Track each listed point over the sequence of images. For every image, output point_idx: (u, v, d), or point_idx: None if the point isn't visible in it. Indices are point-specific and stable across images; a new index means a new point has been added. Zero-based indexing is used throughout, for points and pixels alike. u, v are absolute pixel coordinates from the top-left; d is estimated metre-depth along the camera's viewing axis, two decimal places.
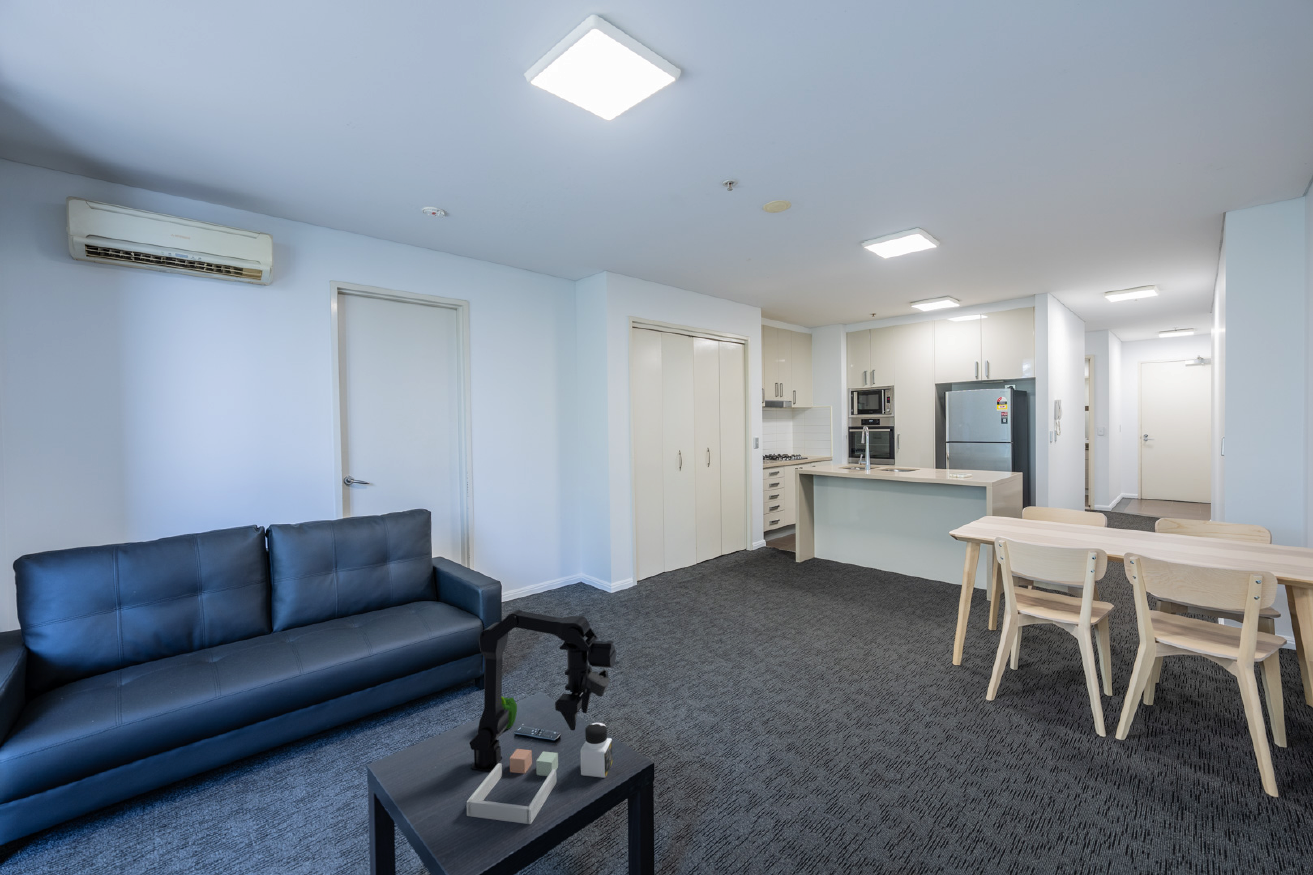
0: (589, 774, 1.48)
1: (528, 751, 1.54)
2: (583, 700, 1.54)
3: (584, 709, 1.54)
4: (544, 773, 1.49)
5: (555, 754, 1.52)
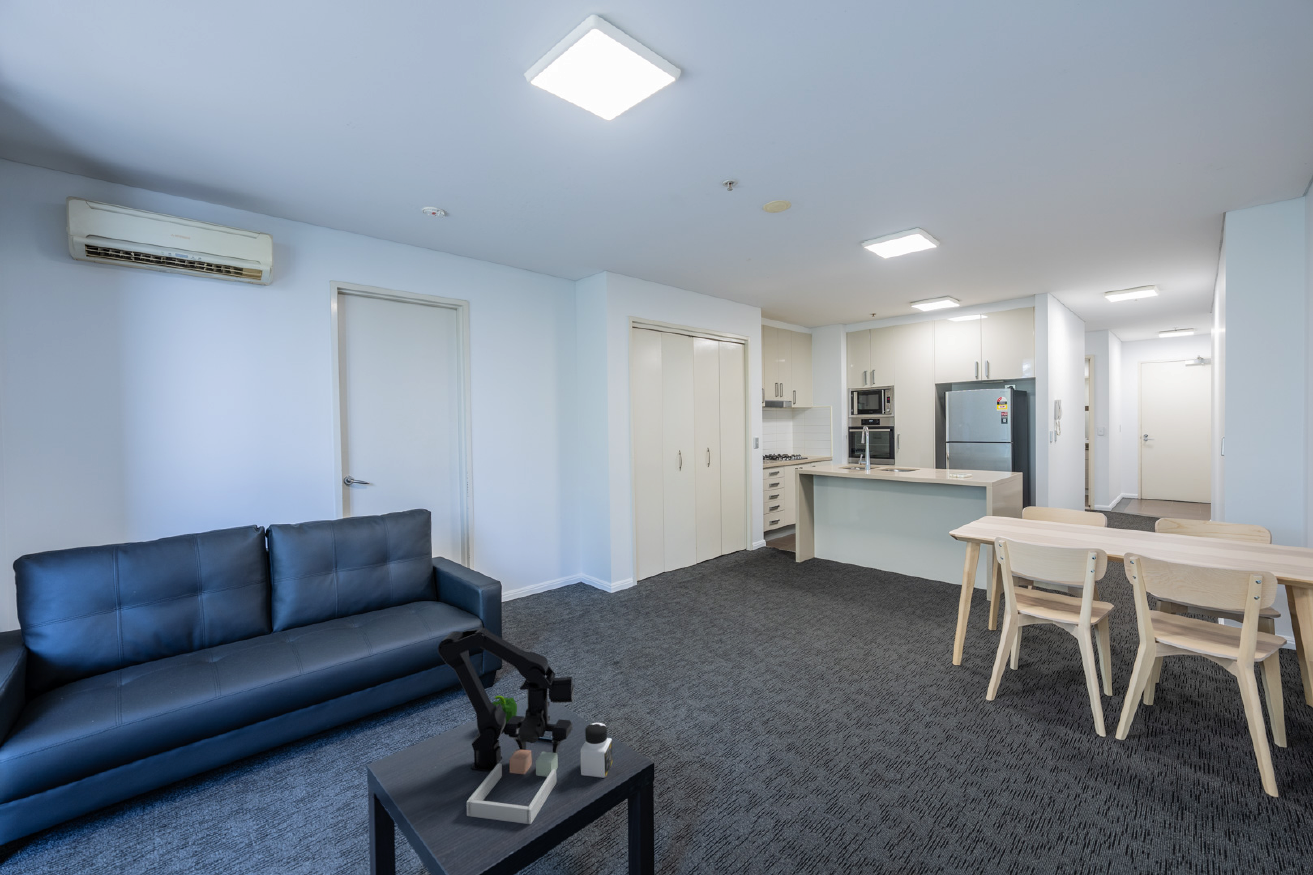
0: (589, 774, 1.48)
1: (528, 751, 1.54)
2: None
3: None
4: (544, 773, 1.49)
5: (555, 754, 1.52)
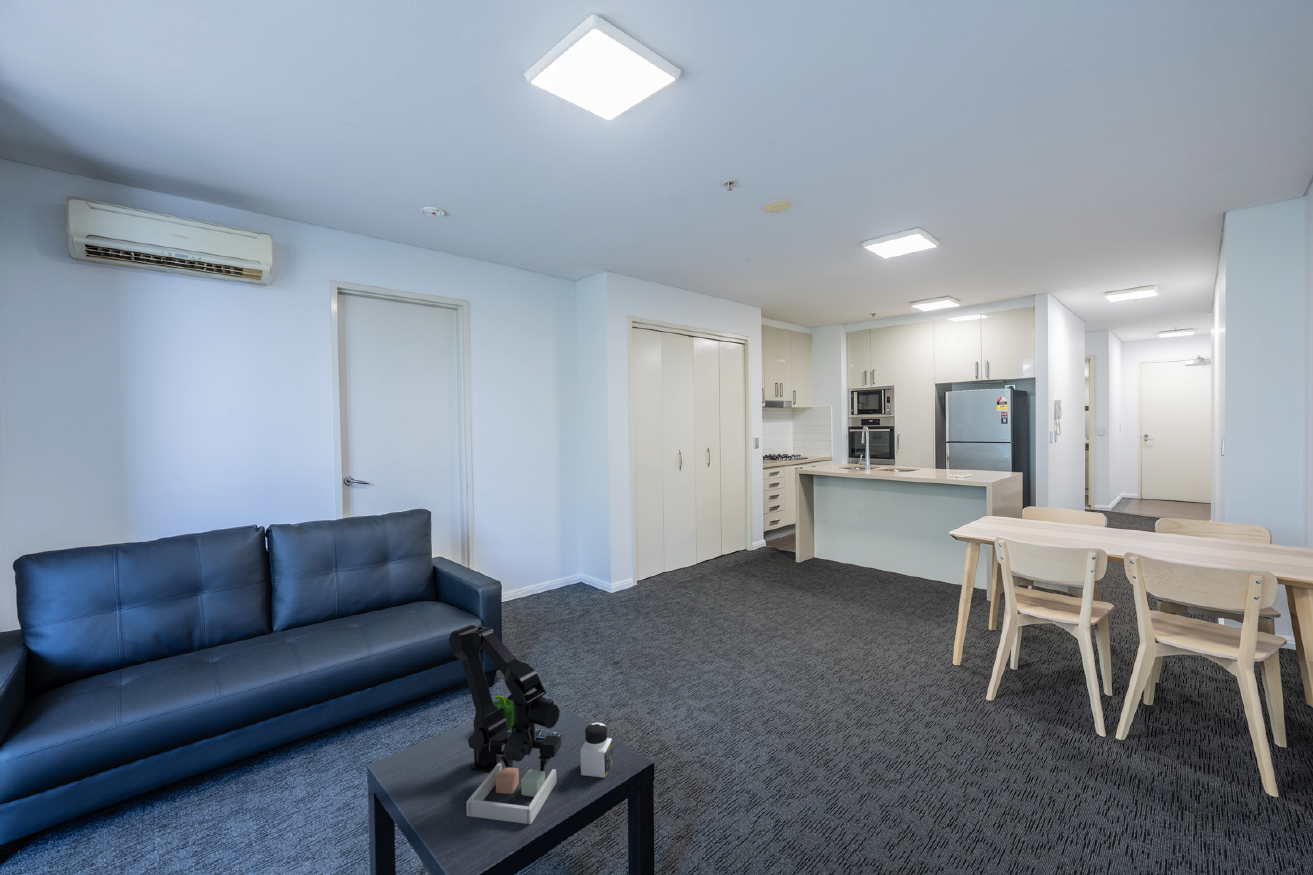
0: (589, 774, 1.48)
1: (515, 769, 1.45)
2: None
3: None
4: (529, 793, 1.40)
5: (542, 773, 1.44)
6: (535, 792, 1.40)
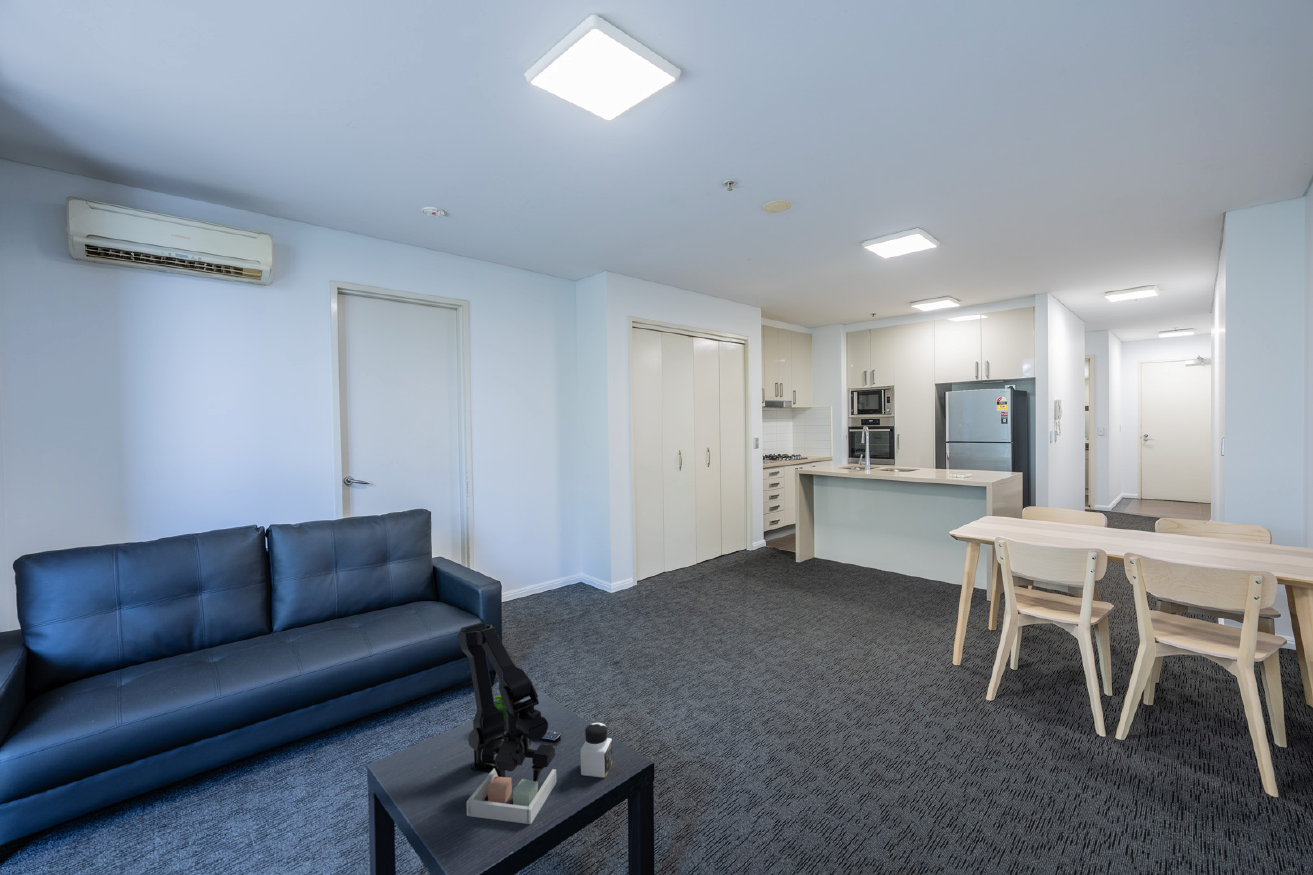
0: (589, 774, 1.48)
1: (508, 779, 1.41)
2: None
3: None
4: (521, 804, 1.36)
5: (534, 783, 1.39)
6: (527, 803, 1.36)
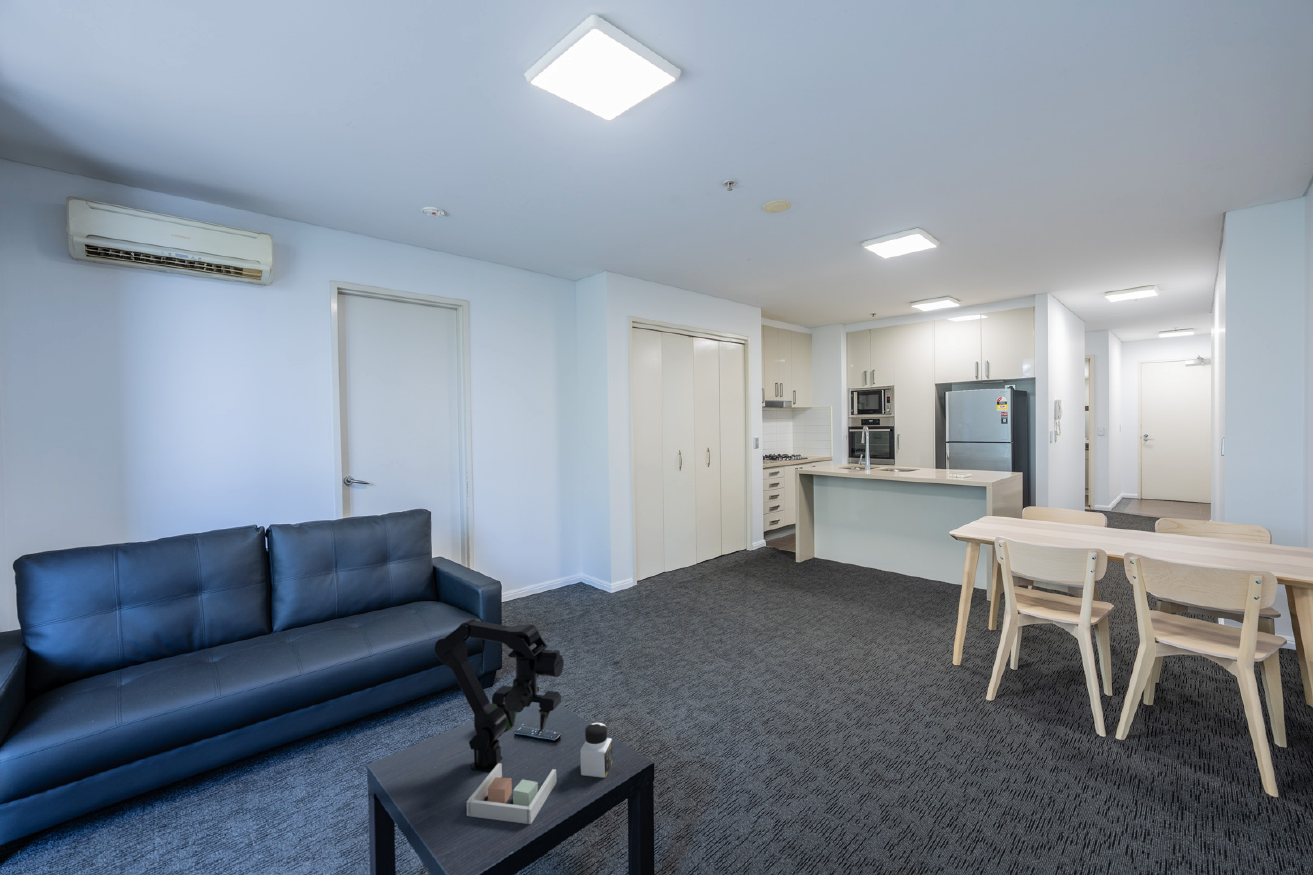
0: (589, 774, 1.48)
1: (508, 779, 1.41)
2: None
3: None
4: (521, 804, 1.36)
5: (534, 783, 1.39)
6: (527, 804, 1.36)
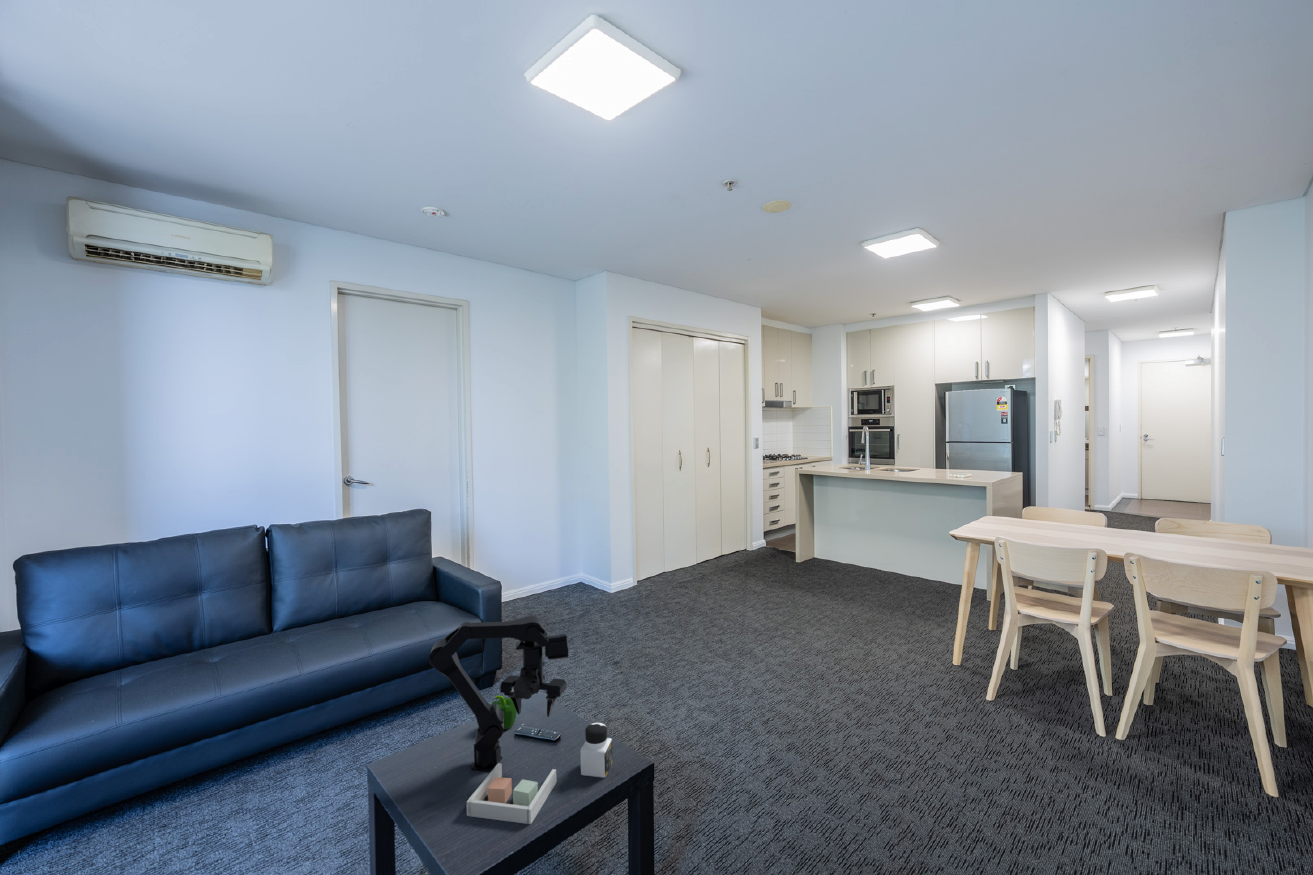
0: (589, 774, 1.48)
1: (508, 779, 1.41)
2: None
3: None
4: (521, 804, 1.36)
5: (534, 783, 1.39)
6: (527, 804, 1.36)
